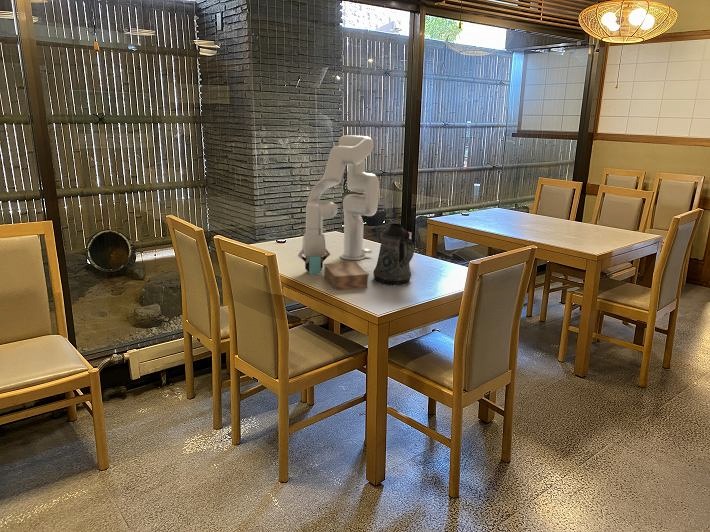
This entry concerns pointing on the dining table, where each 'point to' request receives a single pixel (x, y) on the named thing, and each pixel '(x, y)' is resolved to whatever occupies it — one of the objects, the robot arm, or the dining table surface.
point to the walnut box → (346, 275)
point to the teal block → (314, 264)
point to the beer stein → (394, 256)
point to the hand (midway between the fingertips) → (313, 270)
